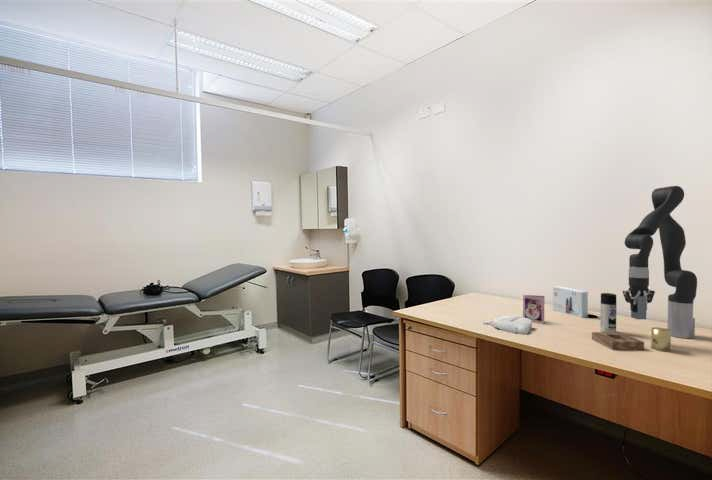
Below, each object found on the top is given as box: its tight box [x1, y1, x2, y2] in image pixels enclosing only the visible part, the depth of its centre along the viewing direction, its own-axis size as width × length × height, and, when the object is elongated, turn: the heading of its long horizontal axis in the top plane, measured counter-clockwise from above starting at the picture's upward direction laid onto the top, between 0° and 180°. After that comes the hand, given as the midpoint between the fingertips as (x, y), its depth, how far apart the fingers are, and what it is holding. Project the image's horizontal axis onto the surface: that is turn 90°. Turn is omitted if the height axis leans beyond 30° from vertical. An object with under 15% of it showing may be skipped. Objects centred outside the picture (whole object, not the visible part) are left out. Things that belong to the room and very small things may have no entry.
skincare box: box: [552, 285, 589, 319], centre depth 216 cm, size 21×6×16 cm, turn 17°
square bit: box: [630, 296, 647, 320], centre depth 164 cm, size 4×4×11 cm
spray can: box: [600, 292, 617, 332], centre depth 178 cm, size 7×7×20 cm
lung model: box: [482, 314, 533, 335], centre depth 188 cm, size 7×17×25 cm
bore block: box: [591, 331, 645, 351], centre depth 160 cm, size 14×14×4 cm
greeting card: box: [522, 294, 545, 325], centre depth 199 cm, size 11×7×15 cm, turn 42°
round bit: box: [650, 326, 672, 353], centre depth 153 cm, size 6×6×9 cm
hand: (638, 311), depth 164 cm, fingers closed on square bit, 4 cm apart
